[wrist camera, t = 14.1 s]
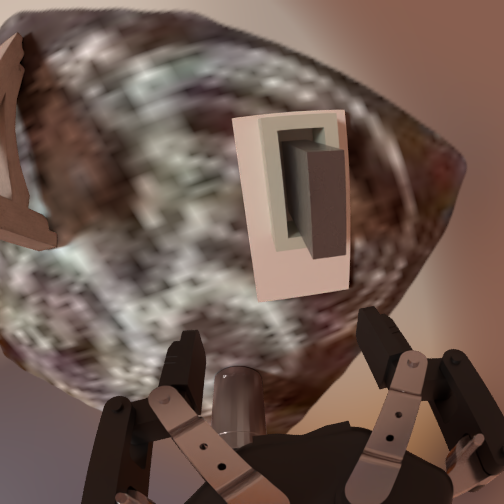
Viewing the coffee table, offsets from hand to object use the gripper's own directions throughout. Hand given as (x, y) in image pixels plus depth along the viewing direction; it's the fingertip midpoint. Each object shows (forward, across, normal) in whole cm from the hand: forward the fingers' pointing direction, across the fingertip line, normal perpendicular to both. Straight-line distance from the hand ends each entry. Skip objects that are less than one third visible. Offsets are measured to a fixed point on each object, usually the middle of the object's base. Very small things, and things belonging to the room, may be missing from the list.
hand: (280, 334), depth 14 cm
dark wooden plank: (+25, -6, -3) cm, 26 cm away
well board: (+26, -6, +2) cm, 27 cm away
